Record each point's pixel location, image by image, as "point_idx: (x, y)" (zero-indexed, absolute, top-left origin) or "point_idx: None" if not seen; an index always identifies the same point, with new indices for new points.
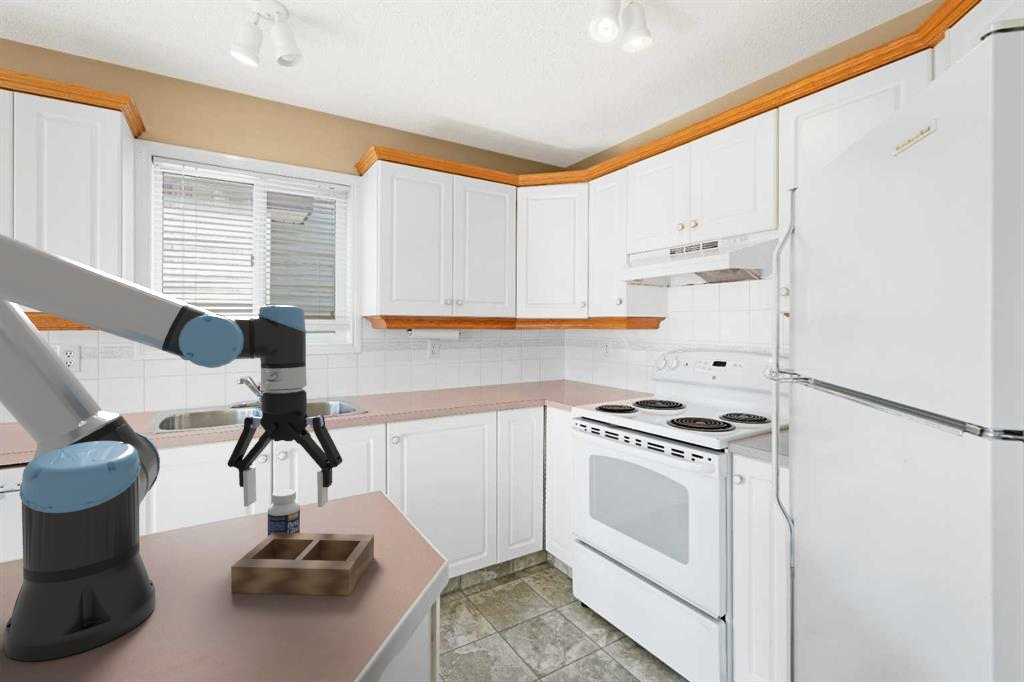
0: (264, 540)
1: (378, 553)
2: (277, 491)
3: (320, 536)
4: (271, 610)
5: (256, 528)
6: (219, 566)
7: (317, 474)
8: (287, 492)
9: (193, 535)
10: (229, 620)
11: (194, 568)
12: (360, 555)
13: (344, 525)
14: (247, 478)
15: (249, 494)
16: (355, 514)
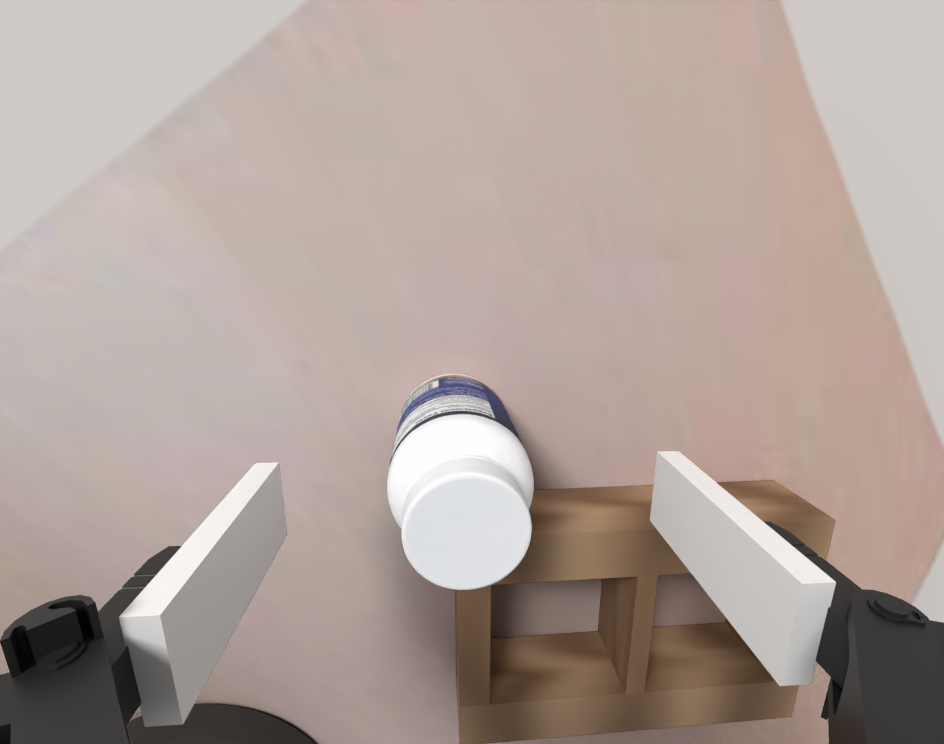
0: (464, 599)
1: (784, 455)
2: (418, 526)
3: (650, 550)
4: None
5: (258, 291)
6: (331, 570)
7: (765, 666)
8: (486, 529)
9: (39, 374)
10: None
11: (262, 587)
12: None
13: (619, 240)
14: (214, 666)
15: (262, 557)
16: (635, 107)
